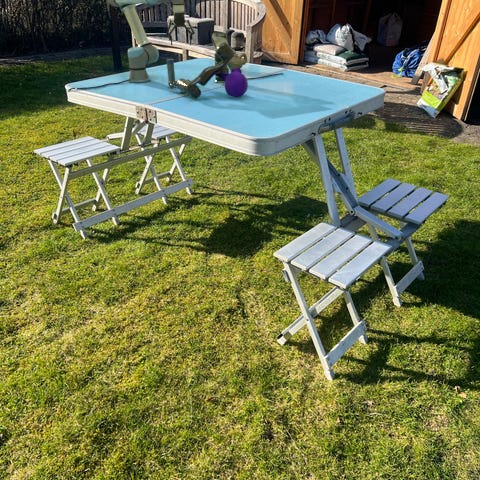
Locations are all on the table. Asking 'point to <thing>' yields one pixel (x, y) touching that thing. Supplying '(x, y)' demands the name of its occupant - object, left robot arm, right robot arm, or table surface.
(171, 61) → the lid
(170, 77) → the bottle
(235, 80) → the toy
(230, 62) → the teapot
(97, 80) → the table surface
